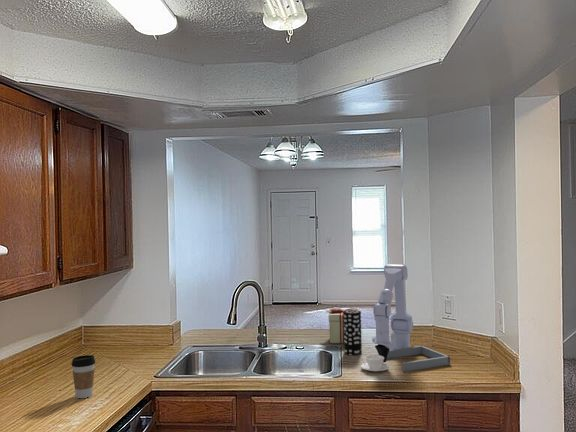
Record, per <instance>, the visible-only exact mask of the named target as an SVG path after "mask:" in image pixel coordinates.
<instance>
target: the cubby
mask: <svg viewBox="0 0 576 432" xmlns="http://www.w3.org/2000/svg"><path fill="white" fill-rule="evenodd" d="M416 355H423V356H425V357H429V358H426V359H419V360H411V361H405V362H404V361H403V362H402V372H411V371H418V370H419V371H420V370H424V369H431V368H438V367H444V365H445V366H450V365H451V357H450V356H449V355H448V354H447V355H446V354H445V353H442V352H439V351H436V350H434V349H431V348H429V347H426V346H423V345H417V346H410V347H408V348H401V349H393V350H392V349H391V350H389V352H388V355H387V360H388V359H396V358H403V357H408V356H416Z"/></svg>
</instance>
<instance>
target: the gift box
mask: <svg viewBox="0 0 576 432" xmlns="http://www.w3.org/2000/svg"><path fill="white" fill-rule="evenodd" d="M347 310H358V311H359V309H357V308H355V307H349V308H347V309H342V308H339V307H331V308H329V310H326V311H325V313H327V314H328V322H329V323H328V325H329V344H344V311H347Z"/></svg>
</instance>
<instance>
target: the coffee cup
mask: <svg viewBox="0 0 576 432" xmlns="http://www.w3.org/2000/svg"><path fill="white" fill-rule="evenodd" d="M71 360H72V361H71V367H72V378H73V385H74V391H75V393H74V394H75V398H76V399H77V398H86V399H88V398H87V397H89V398H91V397H92V396H93V394H94V393H93V392H94V382H95V381H94V379H95V364H96V358H95V355H91V354H87V355H79V356H78V355H77V356H75V357H73V358H72V359H71Z"/></svg>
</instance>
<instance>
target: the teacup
mask: <svg viewBox="0 0 576 432" xmlns="http://www.w3.org/2000/svg"><path fill="white" fill-rule="evenodd" d="M364 360H365V361H366V362H364ZM383 360H384V357H383V356H380V355H379V354H368V355H365V357H361V361H362V364H361V365H360V367H361V368H362V369H363V370H365V371H371V372H380V371H381V372H383V371H387V370H389V368H390V365H388V364H386V363H385V362H383Z"/></svg>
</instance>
